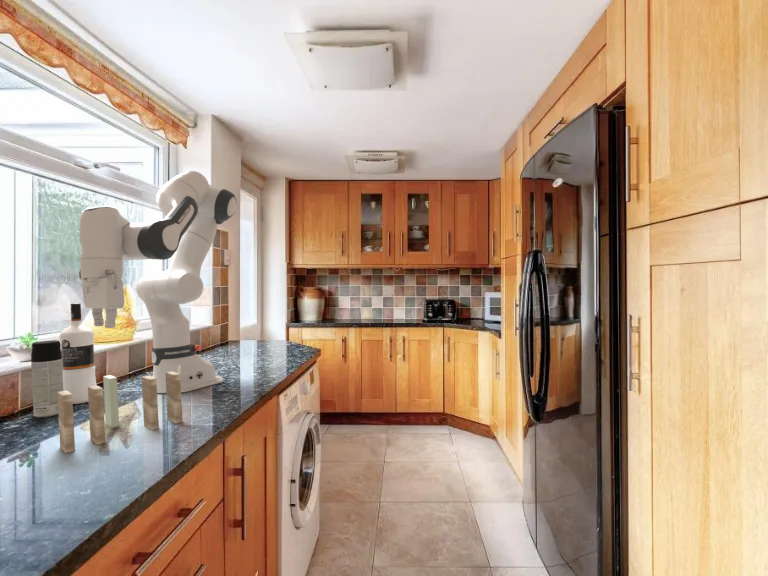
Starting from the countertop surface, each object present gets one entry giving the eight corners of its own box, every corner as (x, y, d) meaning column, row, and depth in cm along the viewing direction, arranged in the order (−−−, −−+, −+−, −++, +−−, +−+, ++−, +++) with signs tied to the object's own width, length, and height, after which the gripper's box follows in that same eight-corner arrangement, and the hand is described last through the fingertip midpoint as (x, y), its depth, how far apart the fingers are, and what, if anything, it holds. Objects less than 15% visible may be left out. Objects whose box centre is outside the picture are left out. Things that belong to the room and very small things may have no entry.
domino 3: (112, 422, 106) (110, 375, 106) (119, 426, 103) (116, 377, 103) (105, 423, 105) (103, 376, 105) (111, 428, 102) (109, 378, 102)
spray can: (62, 408, 120) (59, 339, 120) (66, 413, 115) (62, 341, 115) (32, 414, 116) (28, 342, 115) (35, 419, 111) (31, 344, 110)
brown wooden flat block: (98, 437, 96) (96, 385, 95) (105, 442, 92) (102, 388, 92) (90, 439, 94) (87, 386, 94) (96, 444, 91) (94, 389, 91)
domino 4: (151, 424, 104) (148, 375, 104) (158, 428, 100) (156, 378, 100) (144, 425, 103) (141, 376, 102) (151, 430, 99) (149, 379, 99)
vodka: (105, 397, 131) (100, 301, 130) (74, 406, 122) (69, 303, 122) (85, 395, 134) (81, 302, 134) (54, 404, 126) (48, 304, 125)
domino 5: (174, 418, 108) (172, 371, 108) (182, 421, 105) (180, 373, 104) (167, 419, 107) (165, 372, 106) (175, 423, 103) (173, 375, 103)
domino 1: (69, 445, 92) (66, 390, 91) (75, 450, 88) (72, 393, 88) (60, 447, 90) (57, 392, 90) (65, 453, 87) (62, 395, 87)
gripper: (131, 269, 99) (132, 327, 99) (105, 273, 113) (107, 324, 113) (99, 268, 95) (101, 330, 95) (77, 272, 108) (78, 326, 108)
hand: (104, 327), depth 104 cm, fingers open, 8 cm apart
